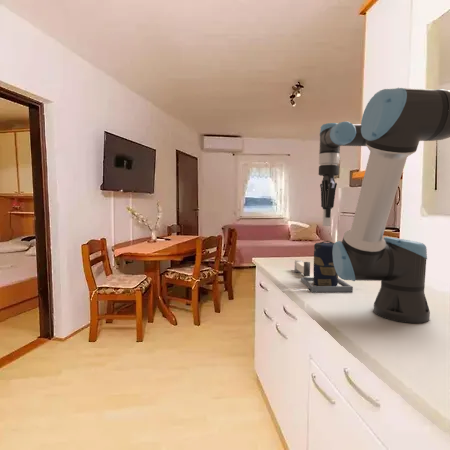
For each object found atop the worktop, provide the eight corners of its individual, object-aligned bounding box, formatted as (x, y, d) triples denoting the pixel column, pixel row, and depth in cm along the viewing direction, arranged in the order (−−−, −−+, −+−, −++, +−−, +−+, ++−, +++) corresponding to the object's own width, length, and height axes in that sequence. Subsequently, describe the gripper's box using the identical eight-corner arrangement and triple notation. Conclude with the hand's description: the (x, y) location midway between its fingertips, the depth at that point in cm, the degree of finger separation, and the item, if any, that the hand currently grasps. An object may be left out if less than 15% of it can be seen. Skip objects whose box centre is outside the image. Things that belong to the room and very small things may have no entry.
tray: (352, 292, 124) (352, 286, 124) (311, 292, 123) (312, 286, 123) (337, 282, 139) (337, 277, 138) (300, 282, 138) (300, 277, 137)
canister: (339, 289, 125) (341, 242, 124) (313, 288, 127) (315, 241, 126) (335, 283, 135) (337, 239, 133) (312, 282, 137) (313, 238, 135)
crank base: (306, 275, 152) (306, 273, 152) (293, 275, 151) (293, 273, 151) (302, 272, 158) (302, 270, 158) (290, 272, 157) (290, 270, 157)
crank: (293, 270, 156) (294, 256, 156) (301, 270, 156) (301, 256, 156) (303, 278, 141) (303, 262, 140) (311, 278, 141) (312, 262, 140)
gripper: (344, 163, 121) (341, 227, 123) (332, 166, 134) (330, 224, 136) (324, 163, 121) (321, 227, 123) (314, 166, 134) (312, 224, 136)
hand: (326, 225), depth 129 cm, fingers closed
